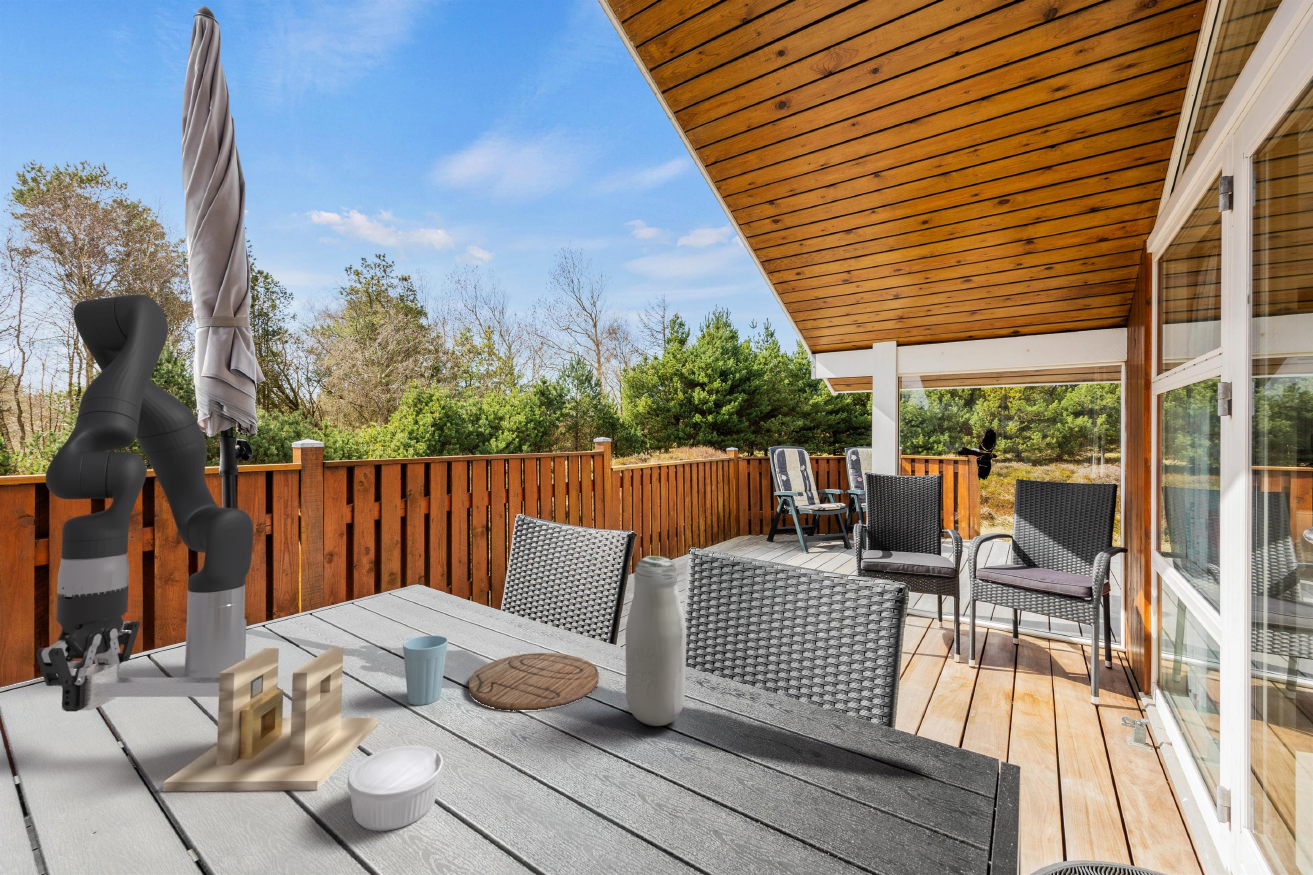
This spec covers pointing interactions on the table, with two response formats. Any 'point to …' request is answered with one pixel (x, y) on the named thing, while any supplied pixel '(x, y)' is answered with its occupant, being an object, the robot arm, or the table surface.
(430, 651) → the cup
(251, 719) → the spacer ring
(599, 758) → the table surface
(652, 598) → the glass bottle
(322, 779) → the bracket
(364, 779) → the ramekin
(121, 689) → the shaft
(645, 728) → the table surface
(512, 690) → the trivet
